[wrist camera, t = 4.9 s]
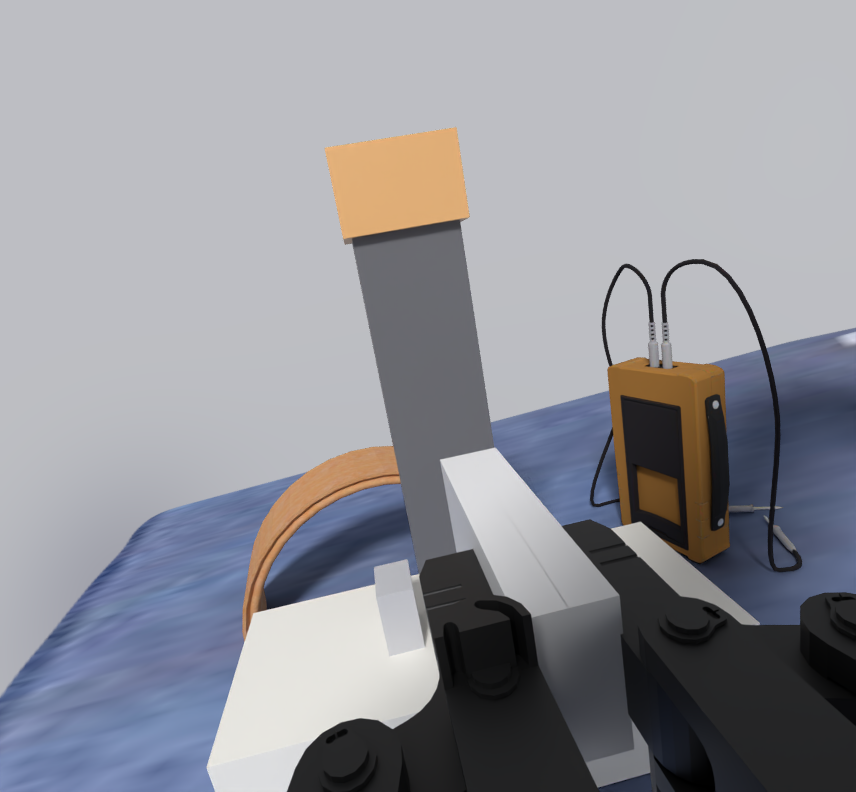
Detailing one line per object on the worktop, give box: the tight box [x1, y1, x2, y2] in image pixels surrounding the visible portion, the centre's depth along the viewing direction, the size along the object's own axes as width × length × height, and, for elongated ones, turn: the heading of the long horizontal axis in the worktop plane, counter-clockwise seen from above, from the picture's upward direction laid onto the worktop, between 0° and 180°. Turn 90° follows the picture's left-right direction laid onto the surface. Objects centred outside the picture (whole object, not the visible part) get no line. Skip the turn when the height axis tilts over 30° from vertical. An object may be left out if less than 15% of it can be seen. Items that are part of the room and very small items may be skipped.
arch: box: [243, 446, 401, 641], centre depth 37 cm, size 6×20×10 cm, turn 104°
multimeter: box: [590, 259, 802, 572], centre depth 37 cm, size 15×10×20 cm
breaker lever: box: [325, 128, 494, 575], centre depth 22 cm, size 5×3×20 cm
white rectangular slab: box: [207, 522, 760, 792], centre depth 25 cm, size 22×9×9 cm, turn 98°
